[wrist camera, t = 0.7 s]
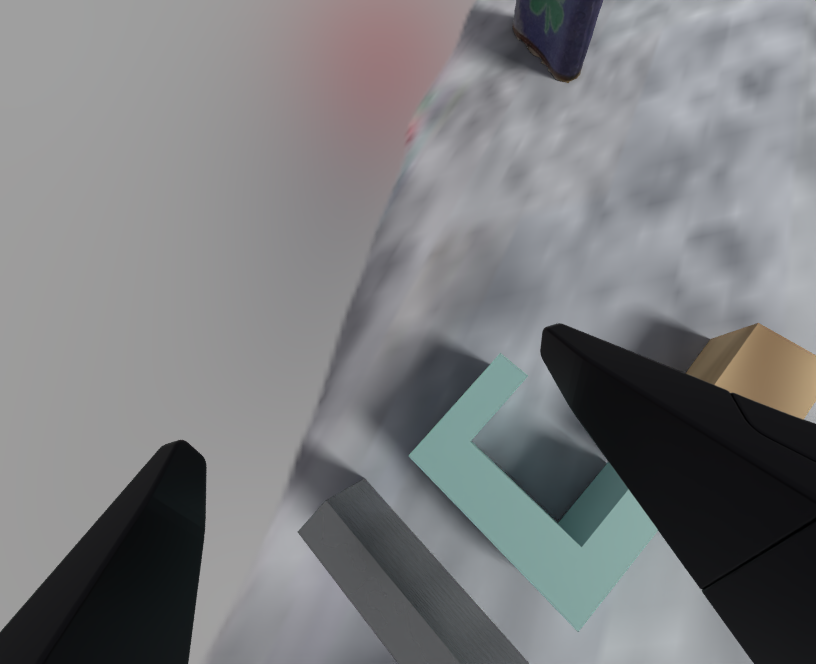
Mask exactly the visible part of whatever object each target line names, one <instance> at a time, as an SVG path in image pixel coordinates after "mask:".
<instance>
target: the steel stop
mask: <svg viewBox="0 0 816 664" xmlns="http://www.w3.org/2000/svg"><path fill="white" fill-rule="evenodd" d="M298 533H299V535H300V536H301V537H302V538H303V540H304V541H305V542H306V544H307V545H308V546H309V548H310V549H311V550H312V551H313V553H314V554H315V555H316V557H317V558H318V559H319V561H320V562H321V563H322V565H323V566H324V567H325V568H326V570H327V571H328V572H329V574H330V575H331V576H332V578H333V579H334V580H335V582H336V583H337V584H338V585H339V587H340V588H341V589H342V591H343V592H344V593H345V595H346V596H347V597H348V599H349V600H350V601H351V602H352V604H353V605H354V606H355V608H356V609H357V610H358V612H359V613H360V614H361V616H362V617H363V618H364V619H365V621H366V622H367V623H368V625H369V626H370V627H371V629H372V630H373V631H374V633H375V634H376V635H377V636H378V638H379V639H380V640H381V642H382V643H383V644H384V646H385V647H386V648H387V649H388V651H389V652H390V653H391V655H392V656H393V657H394V659H395V660H396V661H397V663H398V664H529V663H528V662H527V661H526V659H525V658H524V657H523V656H522V655H521V654H520V653H519V652H518V650H517V649H516V648H515V647H514V646H513V645H512V644H511V642H510V641H509V640H508V639H507V638H506V637H505V636H504V635H503V633H502V632H501V631H500V630H499V629H498V628H497V627H496V626H495V624H494V623H493V622H492V621H491V620H490V619H489V618H488V617H487V615H486V614H485V613H484V612H483V611H482V610H481V609H480V608H479V606H478V605H477V604H476V603H475V602H474V601H473V600H472V599H471V597H470V596H469V595H468V594H467V593H466V592H465V591H464V590H463V588H462V587H461V586H460V585H459V584H458V583H457V582H456V581H455V579H454V578H453V577H452V576H451V575H450V574H449V573H448V572H447V570H446V569H445V568H444V567H443V566H442V565H441V564H440V563H439V561H438V560H437V559H436V558H435V557H434V556H433V555H432V554H431V552H430V551H429V550H428V549H427V548H426V547H425V546H424V545H423V543H422V542H421V541H420V540H419V539H418V538H417V537H416V536H415V534H414V533H413V532H412V531H411V530H410V529H409V528H408V527H407V525H406V524H405V523H404V522H403V521H402V520H401V519H400V518H399V516H398V515H397V514H396V513H395V512H394V511H393V510H392V509H391V507H390V506H389V505H388V504H387V503H386V502H385V501H384V500H383V498H382V497H381V496H380V495H379V494H378V493H377V492H376V491H375V489H374V488H373V487H372V486H371V485H370V484H369V483H368V482H367V480H366V479H363V480H361V481H359V482H358V483H356V484H354V485H352V486H351V487H349V488H347V489H345V490H344V491H342V492H340V493H338V494H337V495H335V496H333V497H331V498H330V499H328V500H326V501H325V502H324V503H323V504H322V506H321V507H320V508H319V509H318V510H317V511H316V512H315V513H314V514H313V515H312V517H311V518H310V519H309V520H308V521H307V522H306V523H305V524H304V525H303V526H302V528H301V529H300V530H299V531H298Z"/></svg>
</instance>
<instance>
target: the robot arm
mask: <svg viewBox="0 0 816 664" xmlns="http://www.w3.org/2000/svg"><path fill="white" fill-rule="evenodd" d="M540 352H541V357H542V359H543V361H544V363H545V364H546V366H547V368H548V370H549V372H550V373H551V375H552V377H553V379H554V380H555V382H556V384H557V386H558V388H559V389H560V391H561V393H562V395H563V396H564V398H565V400H566V402H567V403H568V405H569V407H570V408H571V410H572V411H573V413H574V414H575V416H576V417H577V418H578V420H579V421H580V423H581V424H582V425H583V427H584V428H585V430H586V431H587V432H588V434H589V435H590V437H591V438H592V439H593V441H594V442H595V443H596V445H597V446H598V448H599V449H600V450H601V452H602V453H603V455H604V456H605V457H606V459H607V460H608V461H609V463H610V464H611V466H612V467H613V468H614V470H615V471H616V473H617V474H618V475H619V477H620V478H621V480H622V481H623V482H624V484H625V485H626V486H627V488H628V489H629V491H630V492H631V493H632V495H633V496H634V498H635V499H636V500H637V502H638V503H639V504H640V506H641V507H642V509H643V510H644V511H645V513H646V514H647V516H648V517H649V518H650V520H651V521H652V523H653V524H654V525H655V527H656V528H657V529H658V531H659V532H660V534H661V535H662V536H663V538H664V539H665V541H666V542H667V543H668V545H669V546H670V548H671V549H672V550H673V552H674V553H675V554H676V556H677V557H678V559H679V560H680V561H681V563H682V564H683V566H684V567H685V568H686V570H687V571H688V572H689V574H690V575H691V577H692V578H693V579H694V581H695V582H696V584H697V585H698V586H699V588H700V589H702V592H703V594H704V595H705V596H706V598H707V599H708V601H709V602H710V603H711V605H712V606H713V608H714V609H715V610H716V612H717V613H718V615H719V616H720V617H721V619H722V620H723V621H724V623H725V624H726V626H727V627H728V628H729V630H730V631H731V633H732V634H733V635H734V637H735V638H736V640H737V641H738V642H739V644H740V645H741V646H742V648H743V649H744V651H745V652H746V653H747V655H748V656H749V658H750V659H751V660H752V662H753V663H754V664H816V424H815V423H812V422H809V421H806V420H804V419H801V418H798V417H795V416H792V415H790V414H787V413H784V412H782V411H779V410H777V409H774V408H772V407H769V406H766V405H764V404H761V403H759V402H756V401H753V400H751V399H748V398H746V397H743V396H741V395H739V394H736V393H730V392H729V391H728V390H726V389H723V388H721V387H718V386H716V385H713V384H711V383H708V382H706V381H703V380H701V379H698V378H696V377H693V376H691V375H688V374H686V373H683V372H681V371H678V370H676V369H674V368H671V367H669V366H666V365H664V364H661V363H659V362H656V361H654V360H651V359H649V358H646V357H644V356H641V355H639V354H636V353H634V352H631V351H629V350H626V349H624V348H621V347H619V346H616V345H614V344H611V343H609V342H606V341H604V340H601V339H599V338H596V337H594V336H591V335H589V334H586V333H584V332H581V331H579V330H576V329H574V328H572V327H569V326H567V325H564V324H560V323H558V324H554V325H551V326H548V327H545V328H544V330H543V332H542V341H541V349H540ZM205 514H206V461H205V459H204V457H203V456H202V455H201V454H200V453H199V452H198V451H197V450H196V449H194V448H193V447H192V446H191V445H190V444H189V443H188V442H186V441H184V440H178V441H175V442H171V443H168V444H165V445H164V446H162V447H161V448H160V449H159V450H158V451H157V452H156V453H155V455H154V456H153V457H152V458H151V459H150V460H149V461H148V463H147V464H146V465H145V466H144V467H143V468H142V469H141V471H140V472H139V473H138V474H137V475H136V476H135V477H134V479H133V480H132V481H131V482H130V483H129V484H128V486H127V487H126V488H125V489H124V490H123V491H122V492H121V494H120V495H119V496H118V497H117V498H116V499H115V501H114V502H113V503H112V504H111V505H110V506H109V507H108V509H107V510H106V511H105V512H104V514H102V516H101V517H100V518H99V519H98V520H97V521H96V522H95V524H94V525H93V526H92V527H91V528H90V529H89V530H88V532H87V533H86V534H85V535H84V536H83V537H82V539H81V540H80V541H79V542H78V543H77V544H76V545H75V547H74V548H73V549H72V550H71V551H70V552H69V554H68V555H67V556H66V557H65V558H64V559H63V560H62V562H61V563H60V564H59V565H58V566H57V567H56V569H55V570H54V571H53V572H52V573H51V574H50V575H49V577H48V578H47V579H46V580H45V581H44V582H43V583H42V585H41V586H40V587H39V588H38V589H37V590H36V591H35V593H34V594H33V595H32V596H31V597H30V598H29V600H28V601H27V602H26V603H25V604H24V605H23V606H22V608H21V609H20V610H19V611H18V612H17V613H16V614H15V616H14V617H13V618H12V619H11V620H10V622H9V623H8V624H7V625H6V626H5V627H4V628H3V629H2V631H1V632H0V664H188V661H189V653H190V645H191V637H192V629H193V621H194V614H195V605H196V597H197V589H198V582H199V575H200V566H201V559H202V551H203V543H204V534H205V519H206V515H205Z"/></svg>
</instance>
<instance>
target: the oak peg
mask: <svg viewBox="0 0 816 664" xmlns="http://www.w3.org/2000/svg"><path fill="white" fill-rule="evenodd" d="M686 374H688V375H691V376H693V377H696V378H698V379H701V380H703V381H706V382H708V383H711V384H713V385H716V386H718V387H721V388H723V389H726V390H728V391H729V392H730V393H736V394H739V395H741V396H743V397H746V398H748V399H751V400H753V401H756V402H759V403H761V404H764V405H766V406H769V407H772V408H774V409H777V410H779V411H782V412H784V413H787V414H790V415H792V416H795V417H798V418H801V419H804V418H805V416H806V415H807V413H808V412H809V410H810V409H811V407H812V406H813V404H814V403H815V401H816V355H814V354H812V353H811V352H809V351H807V350H805V349H804V348H802V347H800V346H798V345H797V344H795V343H793V342H791V341H789V340H788V339H786V338H784V337H782V336H781V335H779V334H777V333H775V332H774V331H772V330H770V329H768V328H767V327H765V326H763V325H761V324H759V323H757V324H754V325H751V326H748V327H745V328H742V329H739V330H736V331H733V332H730V333H727V334H724V335H721V336H718V337H716V338H713V339H710V340H709V342H708V343H707V345H706V346H705V347H704V349H703V350H702V351H701V353H700V354H699V356H698V357H697V358H696V360H695V361H694V362H693V364H692V365H691V367H690V368H689V369H688V371H687V372H686Z"/></svg>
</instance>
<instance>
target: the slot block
mask: <svg viewBox="0 0 816 664" xmlns="http://www.w3.org/2000/svg"><path fill="white" fill-rule="evenodd" d="M527 377H528V375H526V374H525V373H524V372H523V371H522V370H520V369H519V368H518V367H517V366H515V365H514V364H513V363H512V362H511V361H509V360H508V359H507V358H506V357H504V356H503V355H502V354H501V353H500V354H499V355H498V356H497V357H496V359H495V360H494V361H493V362H492V363H491V364H490V365H489V366H488V367H487V369H486V370H485V371H484V372H483V373H482V374H481V375H480V376H479V378H478V379H477V380H476V381H475V382H474V383H473V384H472V385H471V386H470V388H469V389H468V390H467V391H466V392H465V393H464V394H463V395H462V396H461V398H460V399H459V400H458V401H457V402H456V403H455V404H454V405H453V407H452V408H451V409H450V410H449V411H448V412H447V413H446V414H445V415H444V417H443V418H442V419H441V420H440V421H439V422H438V423H437V424H436V425H435V427H434V428H433V429H432V430H431V431H430V432H429V433H428V434H427V436H426V437H425V438H424V439H423V440H422V441H421V442H420V443H419V444H418V446H417V447H416V448H415V449H414V450H413V451H412V452H411V453H410V455H409V457H410V458H411V459H412V460H413V461H414V462H415V463H416V464H417V465H418V466H419V468H420V469H421V470H422V471H423V472H424V473H425V474H426V475H427V476H428V477H429V478H430V479H431V480H432V481H433V482H434V483H435V484H436V485H437V486H438V487H439V488H440V489H441V490H442V491H443V492H444V493H445V494H446V496H447V497H448V498H449V499H450V500H451V501H452V502H453V503H454V504H455V505H456V506H457V507H458V508H459V509H460V510H461V511H462V512H463V513H464V514H465V515H466V516H467V517H468V518H469V519H470V520H471V521H472V523H473V524H474V525H475V526H476V527H477V528H478V529H479V530H480V531H481V532H482V533H483V534H484V535H485V536H486V537H487V538H488V539H489V540H490V541H491V542H492V543H493V544H494V545H495V546H496V547H497V548H498V550H499V551H500V552H501V553H502V554H503V555H504V556H505V557H506V558H507V559H508V560H509V561H510V562H511V563H512V564H513V565H514V566H515V567H516V568H517V569H518V570H519V571H520V572H521V573H522V574H523V575H524V576H525V578H526V579H527V580H528V581H529V582H530V583H531V584H532V585H533V586H534V587H535V588H536V589H537V590H538V591H539V592H540V593H541V594H542V595H543V596H544V597H545V598H546V599H547V600H548V601H549V602H550V603H551V605H552V606H553V607H554V608H555V609H556V610H557V611H558V612H559V613H560V614H561V615H562V616H563V617H564V618H565V619H566V620H567V621H568V622H569V623H570V624H571V625H572V626H573V627H574V628H575V629H576V630H577V632H579V630H580V629H581V628H582V627H583V625H584V624H585V623H586V622H587V620H588V619H589V618H590V616H591V615H592V614H593V613H594V611H595V610H596V609H597V607H598V606H599V605H600V604H601V602H602V601H603V600H604V599H605V597H606V596H607V595H608V593H609V592H610V591H611V590H612V588H613V587H614V586H615V585H616V583H617V582H618V581H619V579H620V578H621V577H622V576H623V574H624V573H625V572H626V571H627V569H628V568H629V567H630V565H631V564H632V563H633V562H634V560H635V559H636V558H637V556H638V555H639V554H640V553H641V551H642V550H643V549H644V548H645V546H646V545H647V544H648V542H649V541H650V540H651V539H652V537H653V536H654V535H655V534H656V532H657V531H658V529H657V528H656V527H655V525H654V524H653V523H652V521H651V520H650V518H649V517H648V516H647V514H646V513H645V511H644V510H643V509H642V507H641V506H640V504H639V503H638V502H637V500H636V499H635V498H634V496H633V495H632V493H631V492H630V491H629V489H628V488H627V486H626V485H625V484H624V482H623V481H622V480H621V478H620V477H619V475H618V474H617V473H616V471H615V470H614V468H613V467H612V466H611V464H610V463H609V462H608V463H607V464H606V466H605V467H604V468H603V469H602V470H601V472H600V473H599V474H598V475H597V476H596V478H595V479H594V480H593V481H592V483H591V484H590V485H589V486H588V487H587V489H586V490H585V491H584V492H583V494H582V495H581V496H580V497H579V498H578V500H577V501H576V502H575V503H574V504H573V506H572V507H571V508H570V509H569V511H568V512H567V513H566V514H565V515H564V517H563V518H562V519H561V520H560V522H559V523H557V522H556V521H555V520H554V519H553V518H552V517H551V516H550V515H549V514H548V513H547V512H546V511H545V510H544V509H543V508H541V507H540V506H539V505H538V504H537V503H536V502H535V501H534V500H533V499H532V498H531V497H530V496H529V495H528V494H527V493H526V492H525V491H524V490H522V489H521V488H520V487H519V486H518V485H517V484H516V483H515V482H514V481H513V480H512V479H511V478H510V477H509V476H508V475H507V474H506V473H505V472H503V471H502V470H501V469H500V468H499V467H498V466H497V465H496V464H495V463H494V462H493V461H492V460H491V459H490V458H489V457H488V456H487V455H486V454H484V453H483V452H482V451H481V450H480V449H479V448H478V447H477V446H476V445H475V444H474V443H473V442H472V441H471V440H472V439H473V438H474V437H475V436H476V435H477V433H478V432H479V431H480V430H481V429H482V428H483V427H484V426H485V424H486V423H487V422H488V421H489V420H490V419H491V418H492V416H493V415H494V414H495V413H496V412H497V411H498V410H499V408H500V407H501V406H502V405H503V404H504V403H505V402H506V400H507V399H508V398H509V397H510V396H511V395H512V394H513V392H514V391H515V390H516V389H517V388H518V387H519V386H520V385H521V383H522V382H523V381H524V380H525V379H526V378H527Z"/></svg>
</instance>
